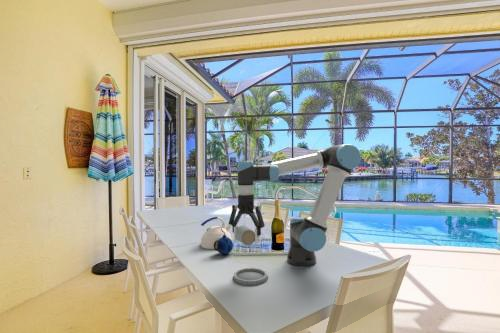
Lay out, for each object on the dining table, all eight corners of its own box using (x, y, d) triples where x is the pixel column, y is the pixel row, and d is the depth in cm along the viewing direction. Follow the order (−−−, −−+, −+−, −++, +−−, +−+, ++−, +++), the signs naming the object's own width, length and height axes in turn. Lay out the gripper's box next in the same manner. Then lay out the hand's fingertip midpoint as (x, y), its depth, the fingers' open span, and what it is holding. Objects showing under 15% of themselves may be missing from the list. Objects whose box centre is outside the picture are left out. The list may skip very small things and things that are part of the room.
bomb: (212, 253, 162) (211, 227, 162) (229, 250, 167) (228, 225, 167) (218, 258, 154) (217, 231, 154) (235, 255, 159) (235, 228, 159)
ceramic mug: (242, 246, 124) (242, 229, 124) (235, 242, 132) (235, 226, 132) (263, 243, 129) (263, 227, 129) (254, 239, 136) (255, 223, 136)
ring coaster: (273, 273, 131) (273, 270, 131) (260, 288, 116) (259, 284, 116) (242, 269, 138) (242, 265, 138) (226, 281, 123) (226, 277, 123)
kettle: (237, 246, 176) (237, 217, 175) (205, 251, 166) (205, 221, 166) (226, 238, 194) (225, 212, 193) (196, 242, 185) (196, 215, 184)
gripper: (271, 194, 128) (272, 241, 128) (228, 192, 139) (229, 236, 139) (265, 195, 121) (265, 246, 122) (220, 193, 132) (221, 240, 132)
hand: (246, 241), depth 130 cm, fingers closed on ceramic mug, 10 cm apart
